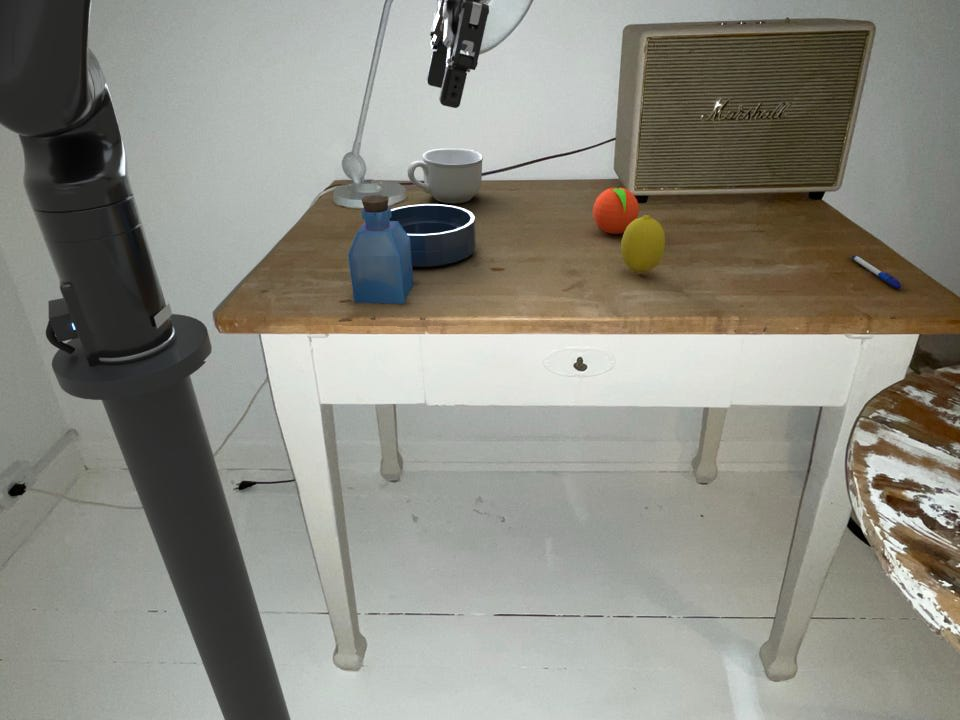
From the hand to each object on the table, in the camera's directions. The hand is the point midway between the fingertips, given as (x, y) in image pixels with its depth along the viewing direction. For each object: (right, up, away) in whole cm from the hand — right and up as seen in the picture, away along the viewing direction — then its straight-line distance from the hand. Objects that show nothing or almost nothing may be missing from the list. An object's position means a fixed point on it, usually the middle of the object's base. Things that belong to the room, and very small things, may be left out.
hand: (441, 95), depth 71 cm
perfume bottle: (-8, -22, +8) cm, 24 cm away
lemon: (+26, -19, +12) cm, 34 cm away
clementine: (+25, -11, +26) cm, 38 cm away
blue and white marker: (+56, -19, +11) cm, 60 cm away
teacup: (-2, -1, +44) cm, 44 cm away
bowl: (-3, -14, +21) cm, 25 cm away
